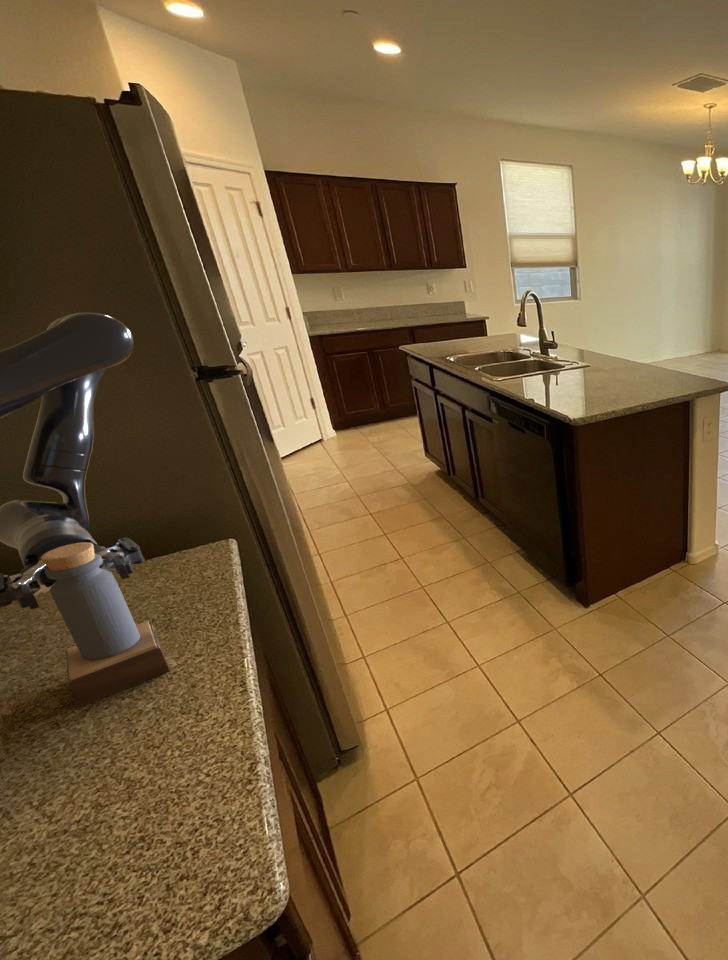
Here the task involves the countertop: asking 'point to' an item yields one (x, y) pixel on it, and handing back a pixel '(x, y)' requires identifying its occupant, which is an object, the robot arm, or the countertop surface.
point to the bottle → (90, 601)
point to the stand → (116, 668)
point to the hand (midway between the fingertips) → (80, 586)
